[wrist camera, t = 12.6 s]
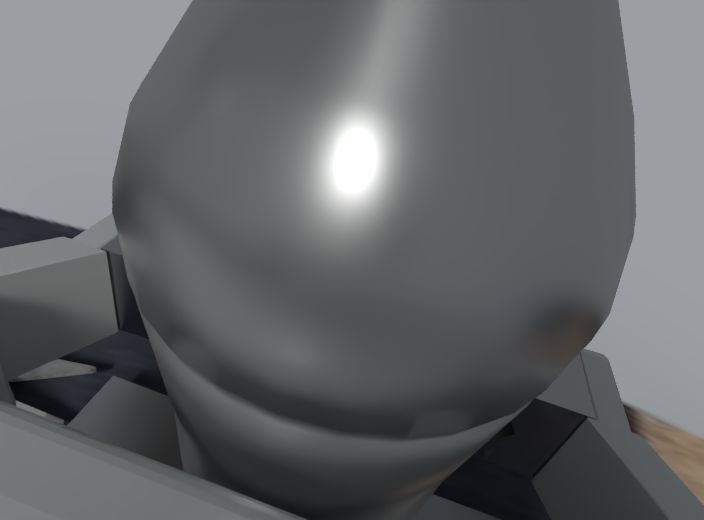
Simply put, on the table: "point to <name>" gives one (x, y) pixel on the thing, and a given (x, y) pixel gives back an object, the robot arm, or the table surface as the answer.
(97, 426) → the subfloor board
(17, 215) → the table surface
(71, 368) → the pliers
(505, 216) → the plastic bottle
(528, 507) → the table surface
